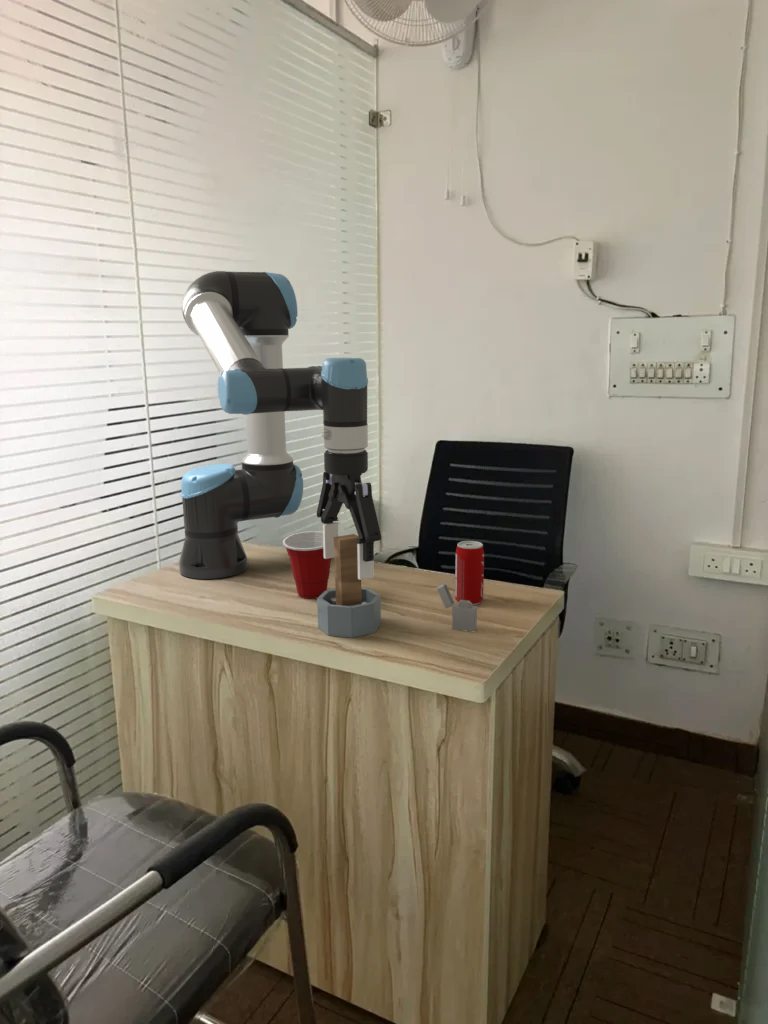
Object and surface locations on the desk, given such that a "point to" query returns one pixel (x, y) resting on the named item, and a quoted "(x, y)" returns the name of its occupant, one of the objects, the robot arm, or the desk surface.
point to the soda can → (469, 572)
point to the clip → (333, 602)
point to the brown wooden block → (347, 570)
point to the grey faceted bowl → (349, 615)
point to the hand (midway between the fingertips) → (347, 567)
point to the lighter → (459, 610)
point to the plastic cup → (308, 563)
